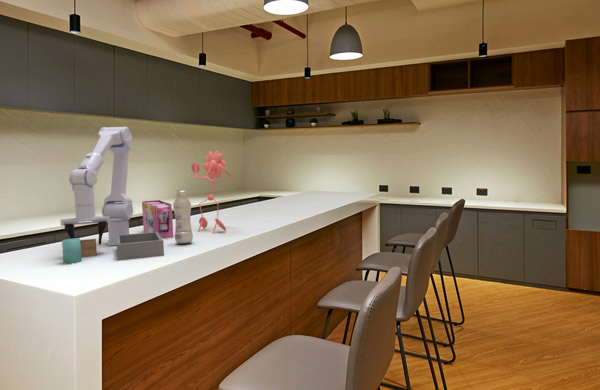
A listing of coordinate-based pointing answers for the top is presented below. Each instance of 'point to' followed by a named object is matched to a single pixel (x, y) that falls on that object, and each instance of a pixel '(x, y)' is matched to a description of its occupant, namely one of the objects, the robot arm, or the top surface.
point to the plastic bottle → (182, 218)
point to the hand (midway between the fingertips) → (87, 245)
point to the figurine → (214, 170)
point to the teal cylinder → (71, 250)
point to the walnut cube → (88, 247)
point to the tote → (139, 245)
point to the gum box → (158, 218)
